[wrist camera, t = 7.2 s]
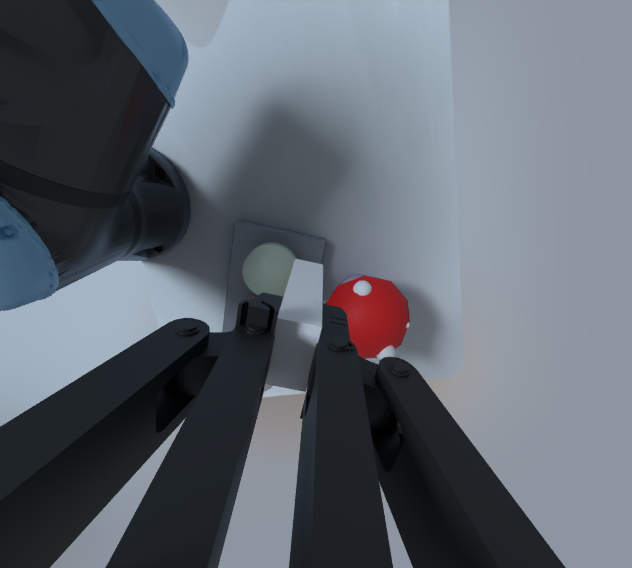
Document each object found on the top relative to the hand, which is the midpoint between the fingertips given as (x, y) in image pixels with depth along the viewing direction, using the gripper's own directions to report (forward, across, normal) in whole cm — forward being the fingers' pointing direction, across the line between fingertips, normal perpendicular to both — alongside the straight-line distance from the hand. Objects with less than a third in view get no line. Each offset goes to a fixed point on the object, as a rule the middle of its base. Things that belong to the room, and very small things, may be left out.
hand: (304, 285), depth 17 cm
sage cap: (+22, -4, -8) cm, 23 cm away
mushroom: (+27, +9, -10) cm, 30 cm away
